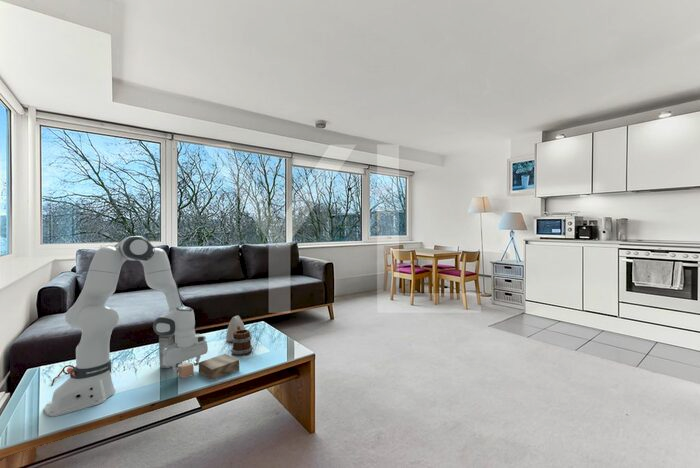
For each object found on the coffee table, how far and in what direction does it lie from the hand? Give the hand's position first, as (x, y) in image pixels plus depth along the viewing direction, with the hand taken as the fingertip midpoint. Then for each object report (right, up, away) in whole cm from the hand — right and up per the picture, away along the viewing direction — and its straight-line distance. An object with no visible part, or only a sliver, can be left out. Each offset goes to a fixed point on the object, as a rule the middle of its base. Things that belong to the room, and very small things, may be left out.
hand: (186, 368), depth 156 cm
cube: (0, -3, -1) cm, 3 cm away
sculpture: (+7, -2, +49) cm, 49 cm away
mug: (+17, -2, +28) cm, 33 cm away
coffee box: (-14, -3, +12) cm, 19 cm away
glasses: (-53, -4, -2) cm, 53 cm away
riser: (+15, -2, +3) cm, 15 cm away
